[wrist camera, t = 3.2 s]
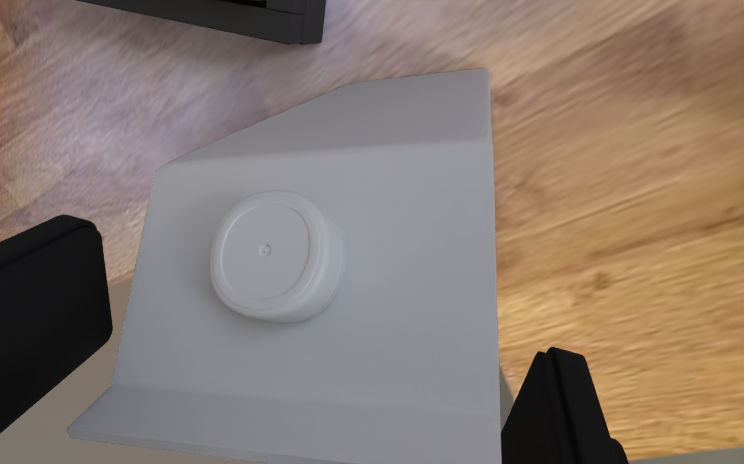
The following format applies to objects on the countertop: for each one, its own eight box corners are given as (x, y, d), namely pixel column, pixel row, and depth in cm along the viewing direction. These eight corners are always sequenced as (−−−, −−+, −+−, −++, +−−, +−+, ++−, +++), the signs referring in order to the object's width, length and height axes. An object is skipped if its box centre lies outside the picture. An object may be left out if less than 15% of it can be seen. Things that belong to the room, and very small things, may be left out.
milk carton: (492, 206, 24) (504, 638, 7) (364, 211, 26) (136, 562, 9) (489, 66, 21) (497, 234, 4) (346, 83, 23) (-38, 245, 6)
